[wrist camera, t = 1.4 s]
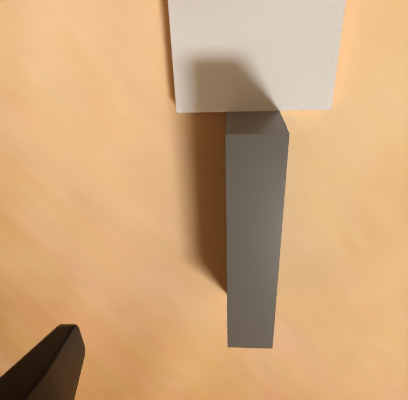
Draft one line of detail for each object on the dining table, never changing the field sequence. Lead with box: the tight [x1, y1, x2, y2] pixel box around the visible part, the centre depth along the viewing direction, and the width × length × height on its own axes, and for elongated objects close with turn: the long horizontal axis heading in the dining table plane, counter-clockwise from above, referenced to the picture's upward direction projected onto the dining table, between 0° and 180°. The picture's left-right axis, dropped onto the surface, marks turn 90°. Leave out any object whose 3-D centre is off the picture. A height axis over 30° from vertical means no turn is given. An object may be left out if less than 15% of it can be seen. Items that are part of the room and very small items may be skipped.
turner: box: [168, 0, 346, 348], centre depth 16 cm, size 7×20×4 cm, turn 2°
